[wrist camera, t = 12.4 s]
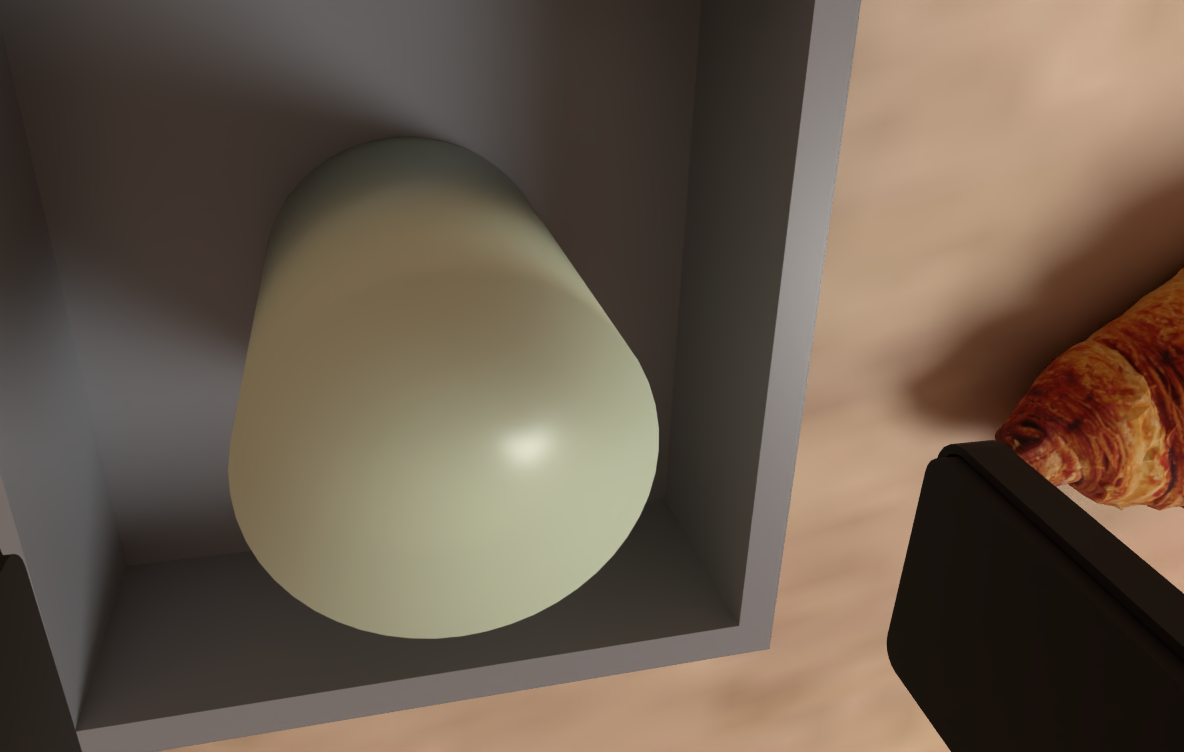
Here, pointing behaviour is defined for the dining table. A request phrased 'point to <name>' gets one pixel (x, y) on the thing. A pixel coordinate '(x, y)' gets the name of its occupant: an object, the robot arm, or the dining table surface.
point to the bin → (231, 285)
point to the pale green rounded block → (432, 401)
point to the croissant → (1113, 409)
